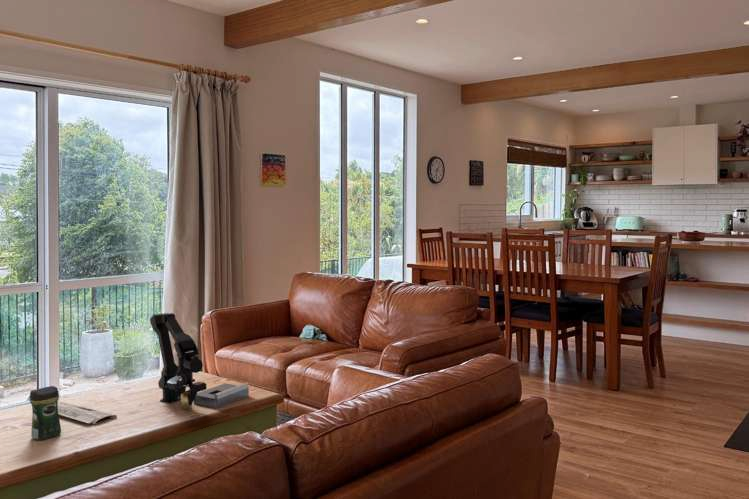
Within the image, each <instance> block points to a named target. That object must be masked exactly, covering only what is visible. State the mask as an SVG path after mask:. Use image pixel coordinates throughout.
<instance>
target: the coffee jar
mask: <svg viewBox="0 0 749 499" xmlns="http://www.w3.org/2000/svg"><path fill="white" fill-rule="evenodd" d="M59 399H60V393H59V388H58V387H57V386H54V385H50V386H45V387H41V388H36V389H32V390H30V394H29V402H30V405H31V409H32V411H31V412H32V414H31V415H32V420H31V438H32V439H33V440H36V441H43V440H47V439H51V438H52V439H53V438H54V437H56V436H59V435H60V434H62V428H61V426H62V425H61V421H60V415H59V414H58V402H59Z"/></svg>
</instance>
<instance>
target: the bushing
mask: <svg viewBox="0 0 749 499" xmlns="http://www.w3.org/2000/svg"><path fill="white" fill-rule="evenodd" d="M186 391H187V390H186ZM186 391H185V392H182V393H181V402H180V410H181V411H184V412H185V411H187V412H188V411H191V410H193V406H192V405H193V404H192V405H189V399H188V393H187V392H186Z"/></svg>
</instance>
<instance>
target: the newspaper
mask: <svg viewBox="0 0 749 499" xmlns="http://www.w3.org/2000/svg"><path fill="white" fill-rule="evenodd" d="M58 414H59V417H63V418H68V419H71V420H72V419H73V420H76V421H79V422H82V423H86V424H91V425H96V426H97V425H99V424H98V423H97V422H98V421H99V420H102V419H104V418H110V419H117V415H116V414H113V413H109V412H105V411H100V410H96V409H92V408H87V407H84V406H79V405H75V404H72V403H66V402H62V401H58Z"/></svg>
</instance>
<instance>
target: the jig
mask: <svg viewBox="0 0 749 499" xmlns="http://www.w3.org/2000/svg"><path fill="white" fill-rule="evenodd" d="M249 386H250V384H249V382H245V383H244V382H243V383H241V384H238V385H237V384H232V383H227V382H225V383H222V384H219V385H216V386H214V387H213V386H212V387H211V388H207V389H205V390H202V391H199V392H198V393H197V394H196V396H195V399H194V401H193V404H194V405H199V406H204V407H208V408H212V409H219V408H222V407H225V406H227V405H229V404H230V405H231V404H233V403H235V402H238V401H240V400H242V399H245V398H248V397H250V392H249V391H250V388H249Z"/></svg>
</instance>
